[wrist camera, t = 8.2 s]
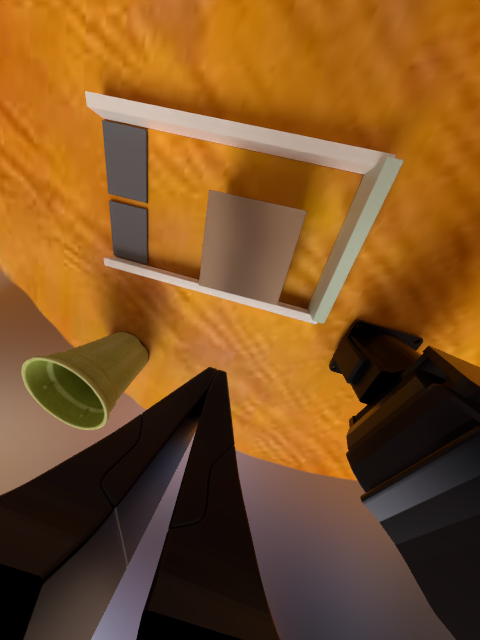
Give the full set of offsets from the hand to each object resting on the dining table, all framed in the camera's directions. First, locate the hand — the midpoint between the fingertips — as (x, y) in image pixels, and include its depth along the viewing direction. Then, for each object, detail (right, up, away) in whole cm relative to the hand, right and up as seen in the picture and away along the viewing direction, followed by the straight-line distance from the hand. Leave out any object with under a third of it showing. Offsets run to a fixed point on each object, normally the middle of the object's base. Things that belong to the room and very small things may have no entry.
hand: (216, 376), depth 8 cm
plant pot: (-15, -2, +17) cm, 23 cm away
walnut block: (+2, +9, +9) cm, 13 cm away
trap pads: (-10, +14, +9) cm, 20 cm away
